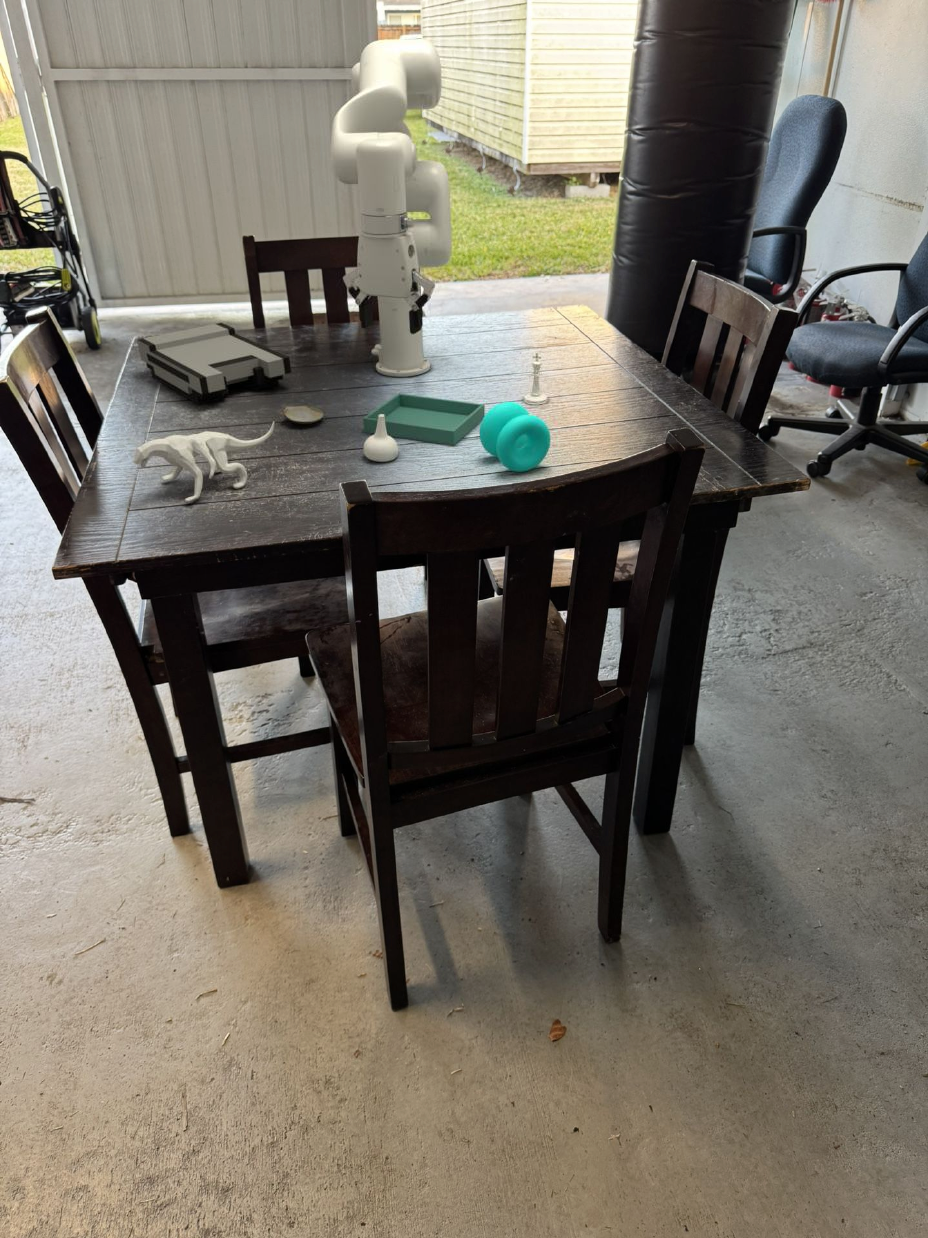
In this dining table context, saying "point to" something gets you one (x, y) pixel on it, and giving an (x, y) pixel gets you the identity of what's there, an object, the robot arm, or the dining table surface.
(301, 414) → the seashell
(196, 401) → the game console
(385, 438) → the garlic bulb
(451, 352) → the dining table surface
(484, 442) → the turquoise yo-yo
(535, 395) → the chess piece
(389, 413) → the tray
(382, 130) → the robot arm
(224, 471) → the white animal figurine
